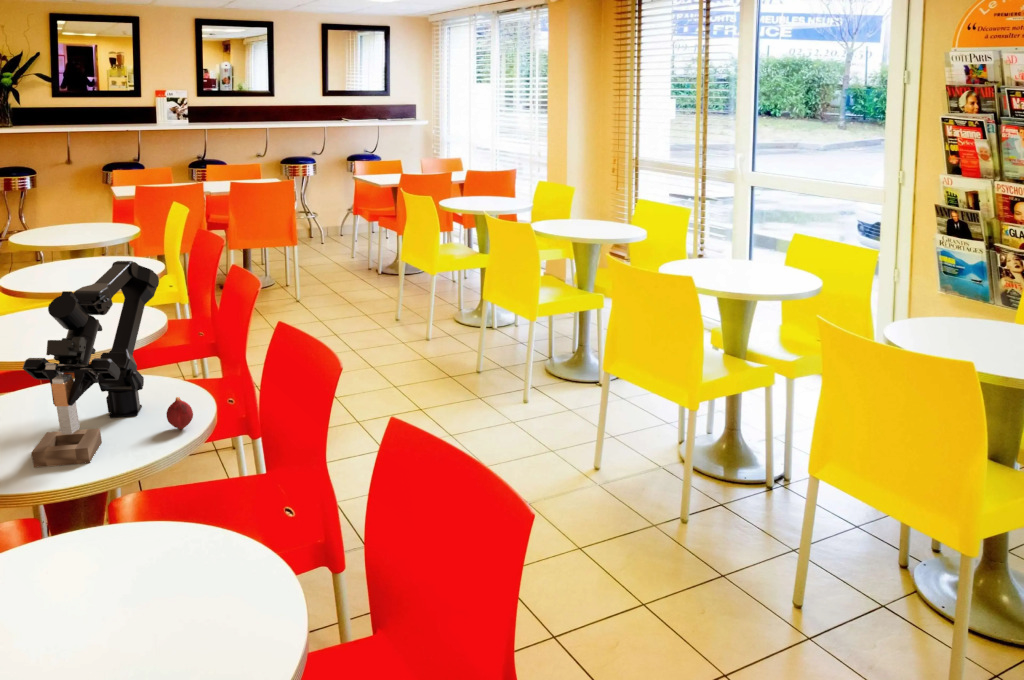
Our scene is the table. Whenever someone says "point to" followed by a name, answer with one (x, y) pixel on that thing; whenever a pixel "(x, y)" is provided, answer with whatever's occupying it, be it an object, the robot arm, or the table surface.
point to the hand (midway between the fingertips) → (62, 404)
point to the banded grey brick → (65, 403)
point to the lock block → (66, 448)
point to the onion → (179, 414)
